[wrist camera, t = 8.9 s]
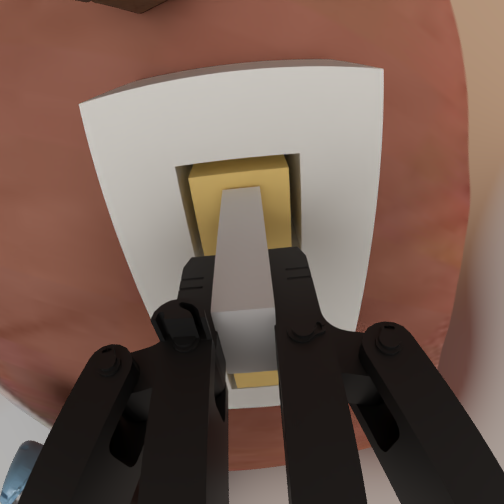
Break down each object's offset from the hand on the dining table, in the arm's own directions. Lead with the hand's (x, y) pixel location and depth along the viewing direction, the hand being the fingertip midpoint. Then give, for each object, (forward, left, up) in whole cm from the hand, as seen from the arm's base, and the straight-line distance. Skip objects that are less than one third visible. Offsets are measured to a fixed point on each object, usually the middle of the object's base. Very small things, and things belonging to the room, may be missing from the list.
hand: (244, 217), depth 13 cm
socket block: (-6, 0, -9) cm, 10 cm away
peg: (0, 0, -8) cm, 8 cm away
